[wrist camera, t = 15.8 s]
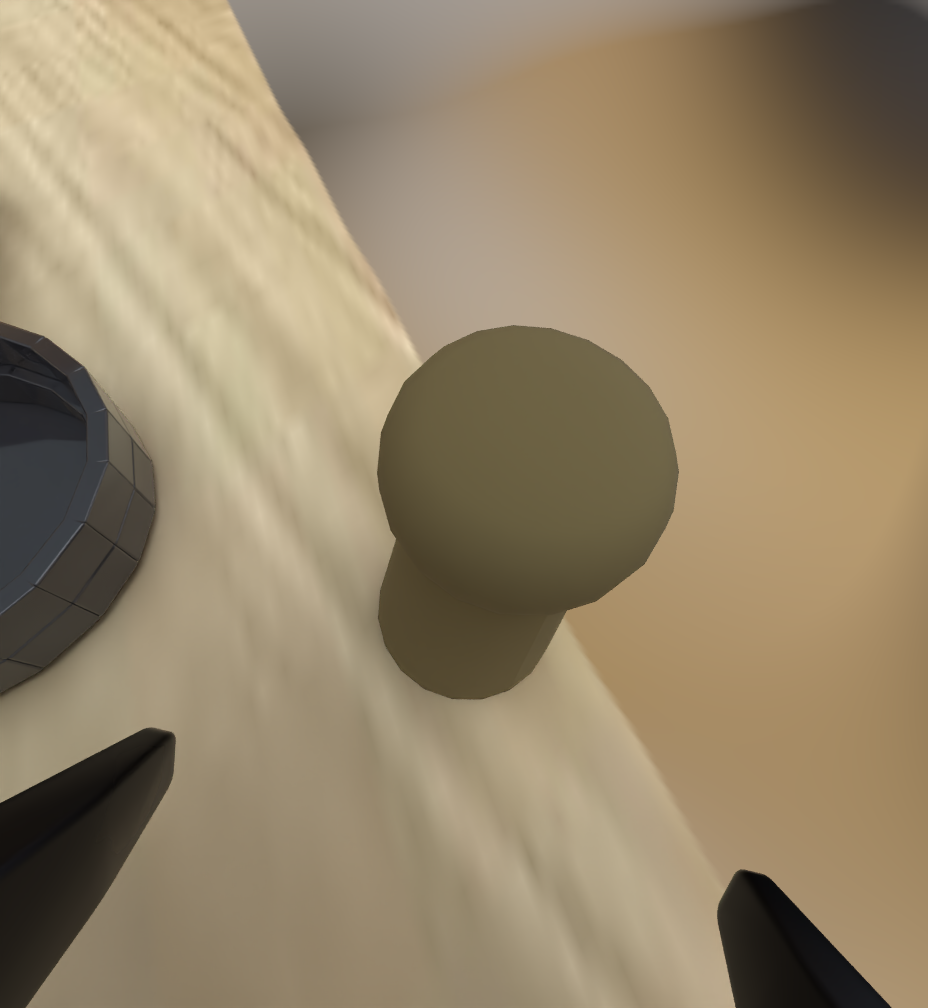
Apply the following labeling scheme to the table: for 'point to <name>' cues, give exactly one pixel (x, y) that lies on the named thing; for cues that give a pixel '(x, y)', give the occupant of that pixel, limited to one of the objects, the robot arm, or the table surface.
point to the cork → (514, 501)
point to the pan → (62, 502)
